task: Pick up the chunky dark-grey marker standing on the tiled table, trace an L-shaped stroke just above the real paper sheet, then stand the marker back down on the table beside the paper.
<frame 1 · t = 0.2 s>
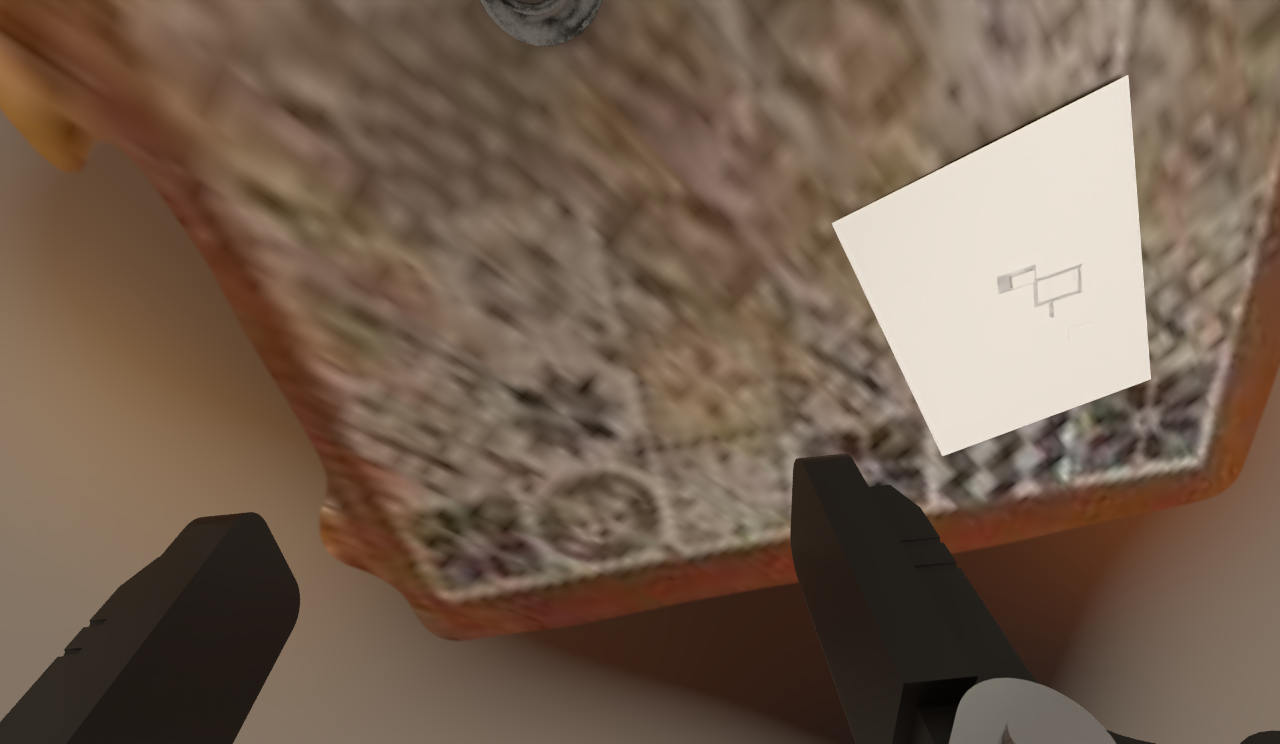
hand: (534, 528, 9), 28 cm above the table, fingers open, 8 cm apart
paper sheet: (914, 333, 41), on the table
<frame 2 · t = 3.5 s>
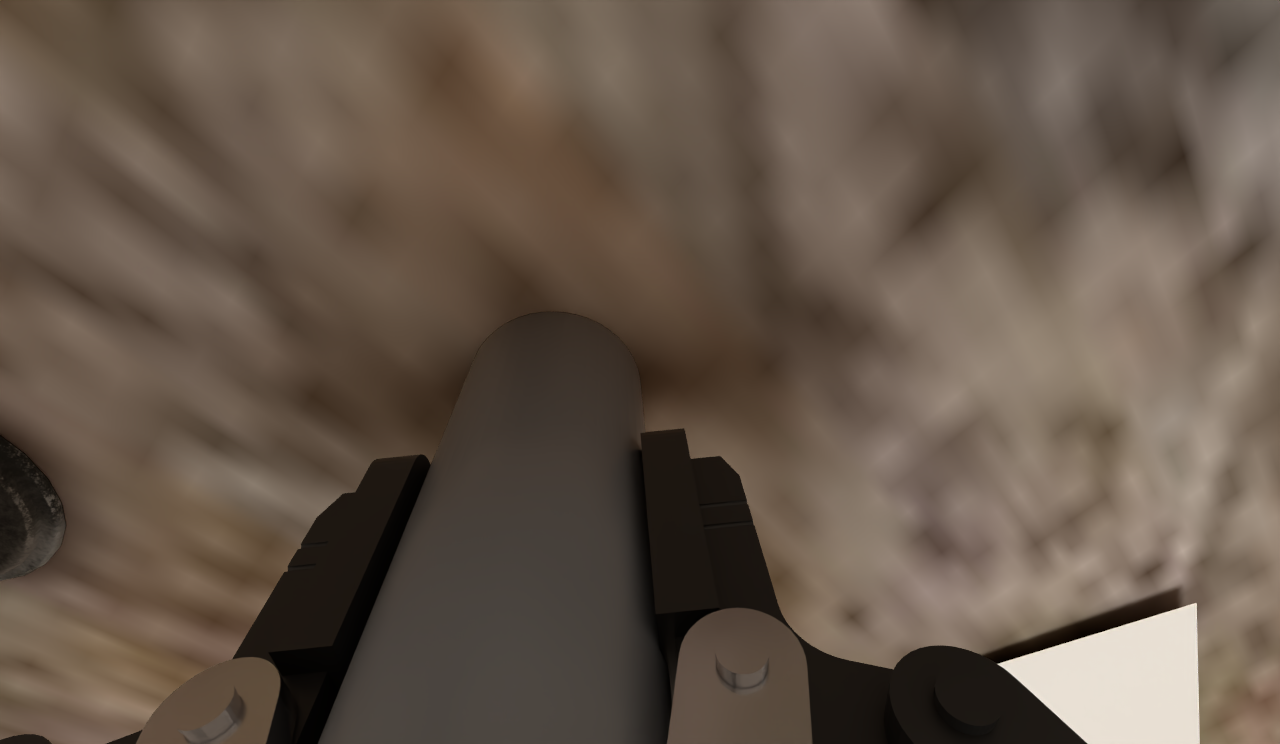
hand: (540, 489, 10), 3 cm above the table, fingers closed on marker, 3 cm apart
marker: (555, 390, 13), on the table, touching gripper
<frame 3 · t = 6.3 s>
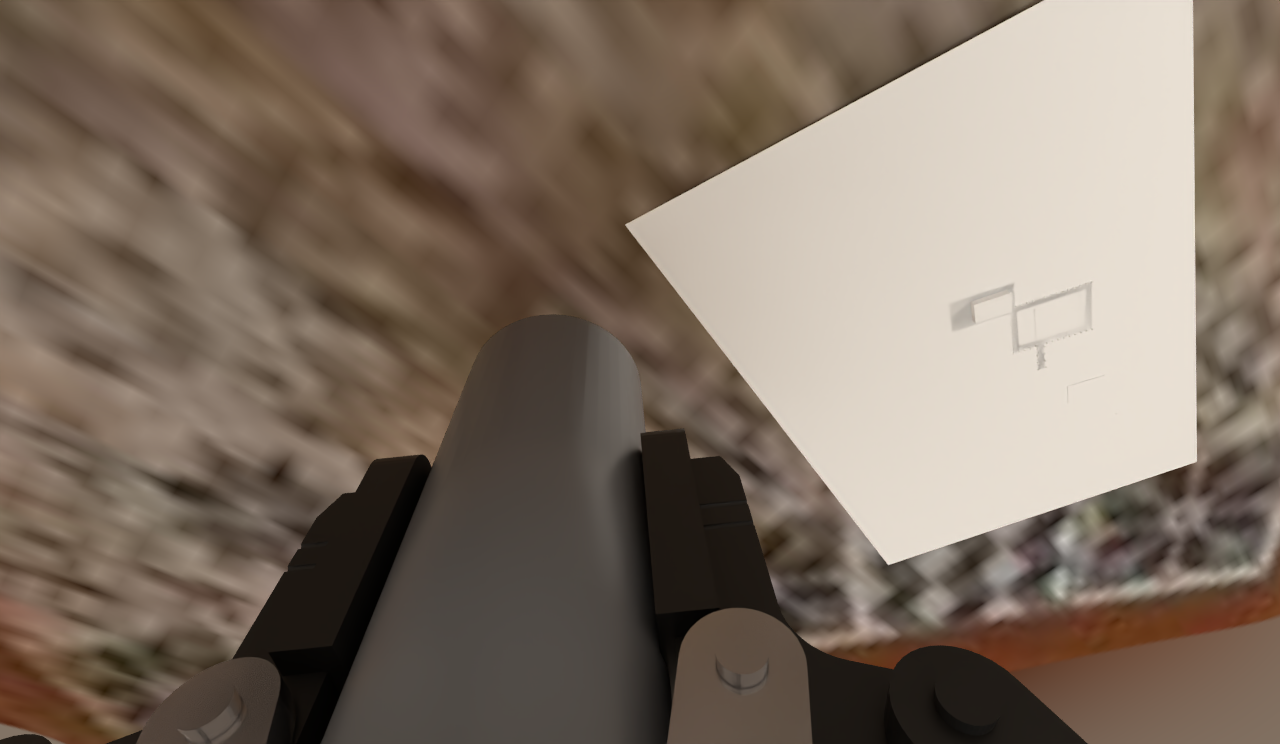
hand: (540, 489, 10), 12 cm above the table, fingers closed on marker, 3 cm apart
paper sheet: (818, 390, 25), on the table
marker: (556, 392, 13), point 9 cm above the table, touching gripper
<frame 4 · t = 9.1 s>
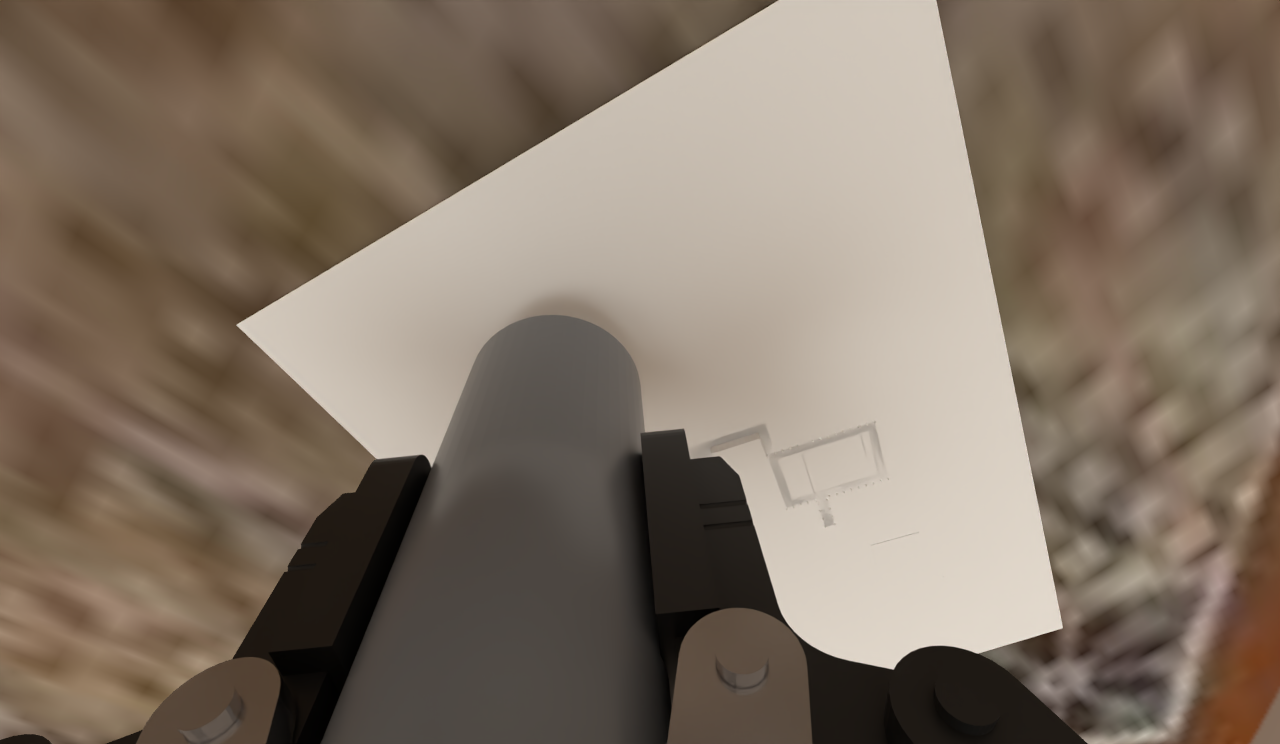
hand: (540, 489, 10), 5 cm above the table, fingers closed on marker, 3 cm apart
paper sheet: (545, 546, 19), on the table
marker: (556, 392, 13), point 2 cm above the table, touching gripper
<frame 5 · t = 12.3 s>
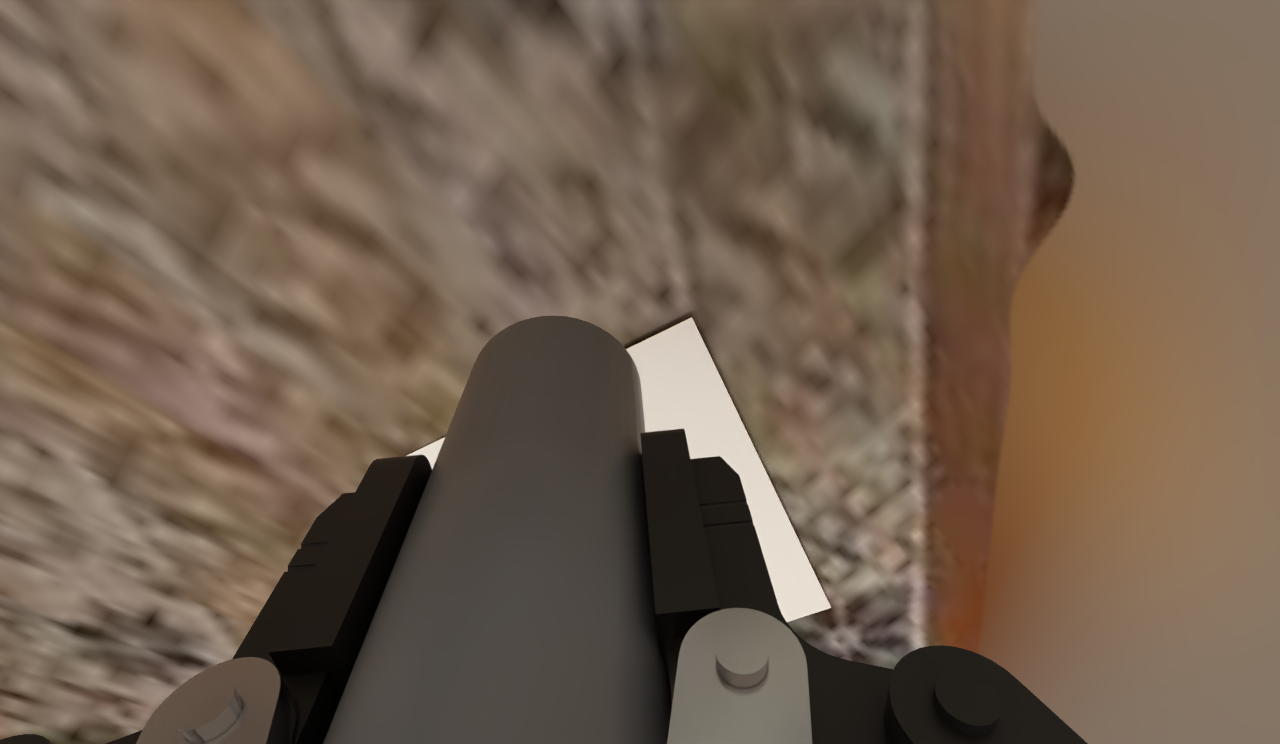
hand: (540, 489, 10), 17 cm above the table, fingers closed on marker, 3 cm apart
paper sheet: (542, 562, 35), on the table
marker: (556, 393, 13), point 14 cm above the table, touching gripper
when the fingers open (4 cm above the table, at t = 14.9 s): marker stays where it is, on the table.
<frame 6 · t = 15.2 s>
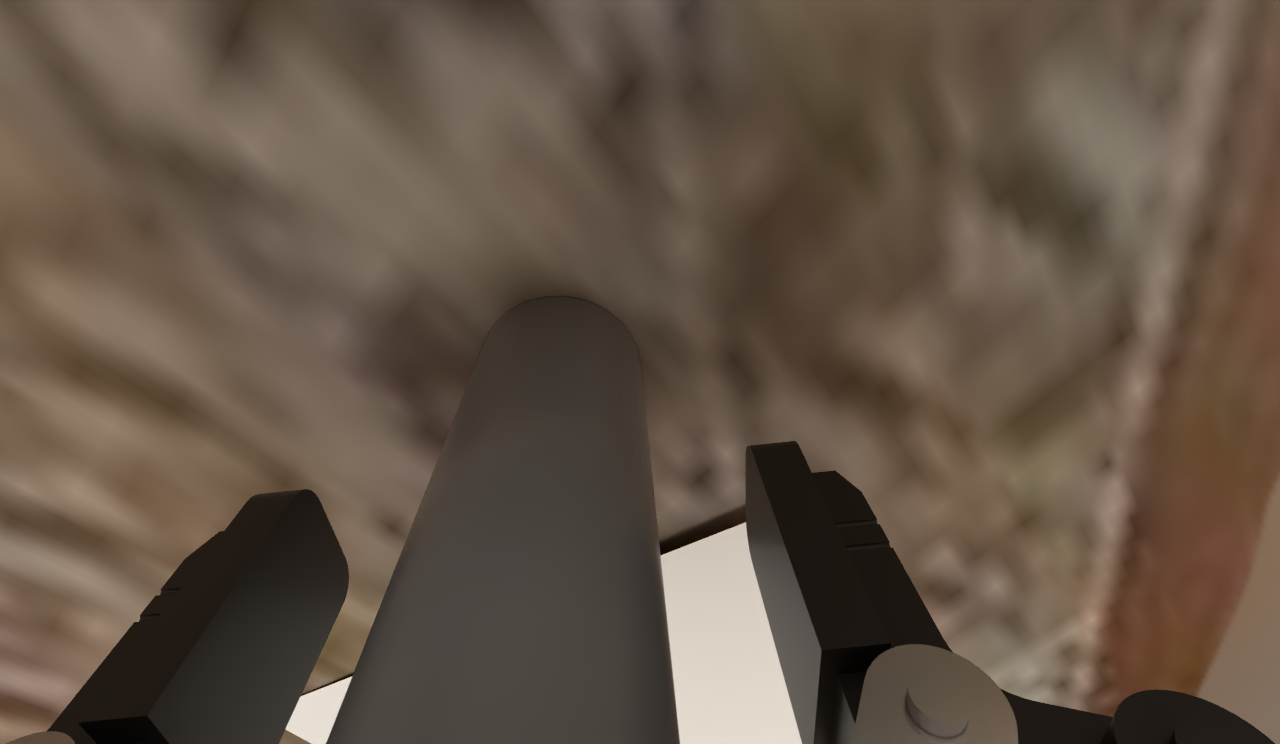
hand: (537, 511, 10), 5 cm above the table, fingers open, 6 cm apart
marker: (561, 370, 14), on the table
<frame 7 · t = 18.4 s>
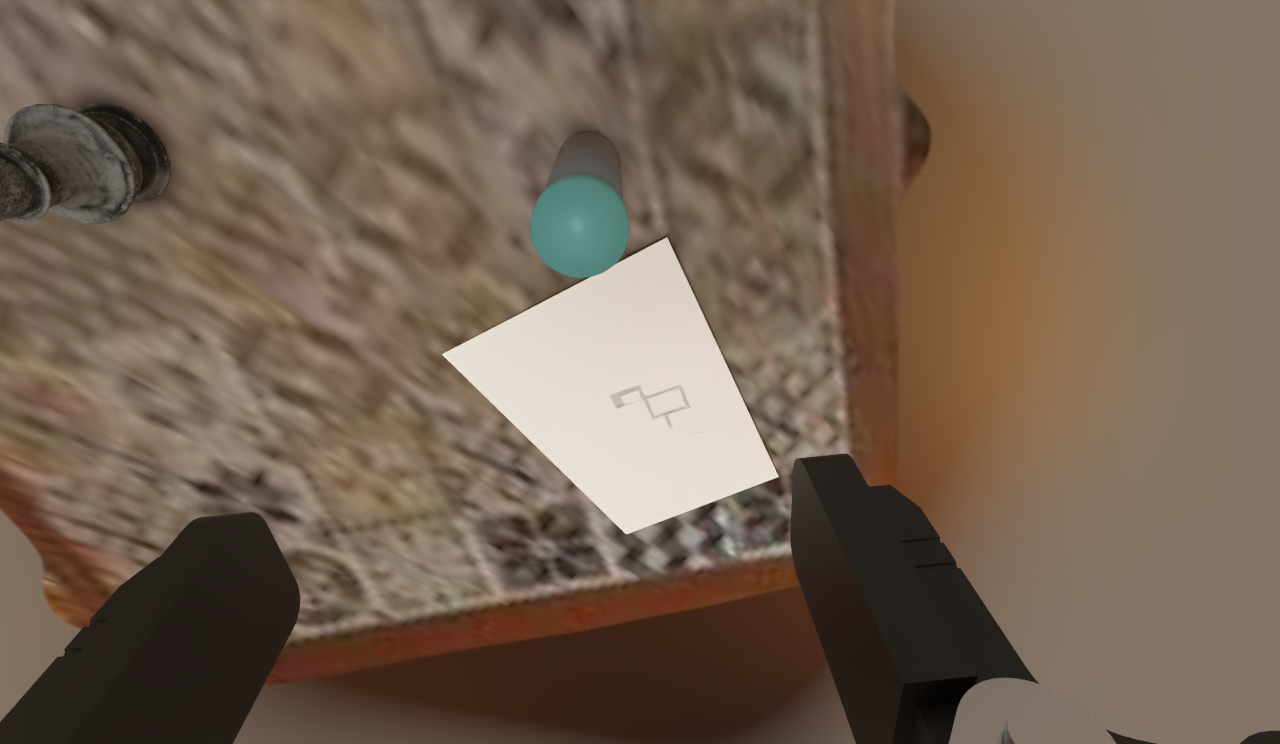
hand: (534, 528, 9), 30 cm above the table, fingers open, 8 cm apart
weathered grey finial: (121, 154, 34), on the table
paper sheet: (557, 437, 46), on the table
marker: (588, 164, 36), on the table
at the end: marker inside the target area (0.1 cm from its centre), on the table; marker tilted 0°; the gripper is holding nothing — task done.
